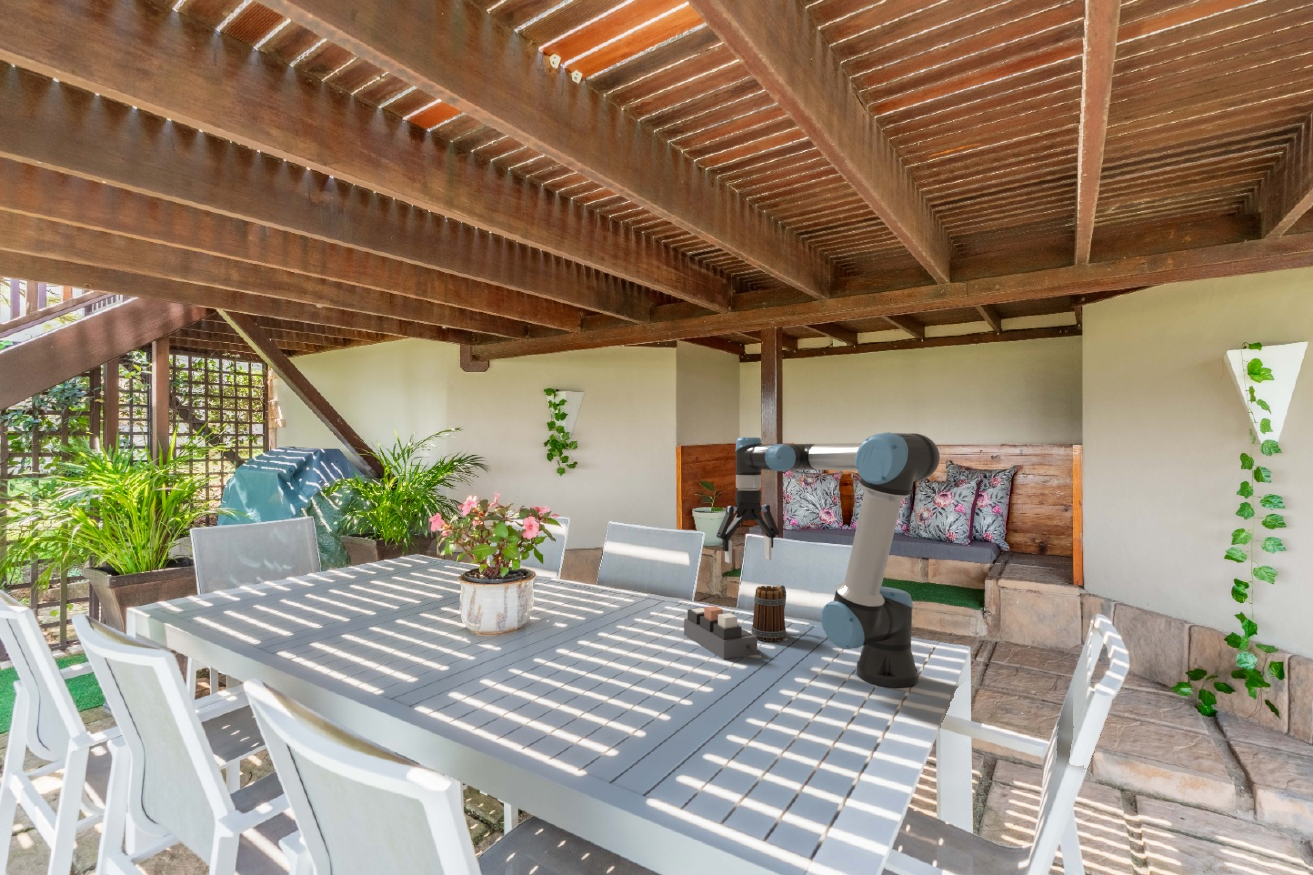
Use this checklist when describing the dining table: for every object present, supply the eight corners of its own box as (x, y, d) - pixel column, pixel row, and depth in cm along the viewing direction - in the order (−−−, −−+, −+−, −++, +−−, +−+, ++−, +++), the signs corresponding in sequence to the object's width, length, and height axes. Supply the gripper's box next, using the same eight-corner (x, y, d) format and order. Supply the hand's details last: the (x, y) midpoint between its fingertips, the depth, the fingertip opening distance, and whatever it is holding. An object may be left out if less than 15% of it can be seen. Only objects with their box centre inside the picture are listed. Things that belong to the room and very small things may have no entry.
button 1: (737, 627, 186) (737, 616, 186) (725, 628, 184) (725, 618, 184) (729, 623, 190) (729, 613, 189) (717, 624, 188) (718, 614, 188)
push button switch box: (768, 660, 182) (768, 631, 181) (734, 665, 177) (734, 636, 177) (714, 630, 208) (714, 605, 208) (683, 634, 204) (684, 609, 203)
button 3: (709, 620, 200) (709, 611, 200) (697, 622, 199) (697, 612, 199) (702, 617, 204) (702, 607, 204) (691, 618, 202) (691, 609, 202)
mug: (776, 644, 195) (777, 594, 195) (745, 637, 201) (745, 589, 201) (798, 632, 207) (799, 585, 207) (768, 626, 214) (769, 580, 214)
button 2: (722, 619, 193) (722, 609, 193) (710, 621, 191) (711, 610, 191) (715, 616, 197) (715, 606, 197) (704, 617, 195) (704, 607, 195)
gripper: (776, 487, 202) (776, 555, 202) (705, 489, 192) (705, 561, 192) (790, 488, 195) (790, 559, 195) (717, 491, 186) (717, 565, 185)
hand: (748, 560), depth 194 cm, fingers open, 13 cm apart
